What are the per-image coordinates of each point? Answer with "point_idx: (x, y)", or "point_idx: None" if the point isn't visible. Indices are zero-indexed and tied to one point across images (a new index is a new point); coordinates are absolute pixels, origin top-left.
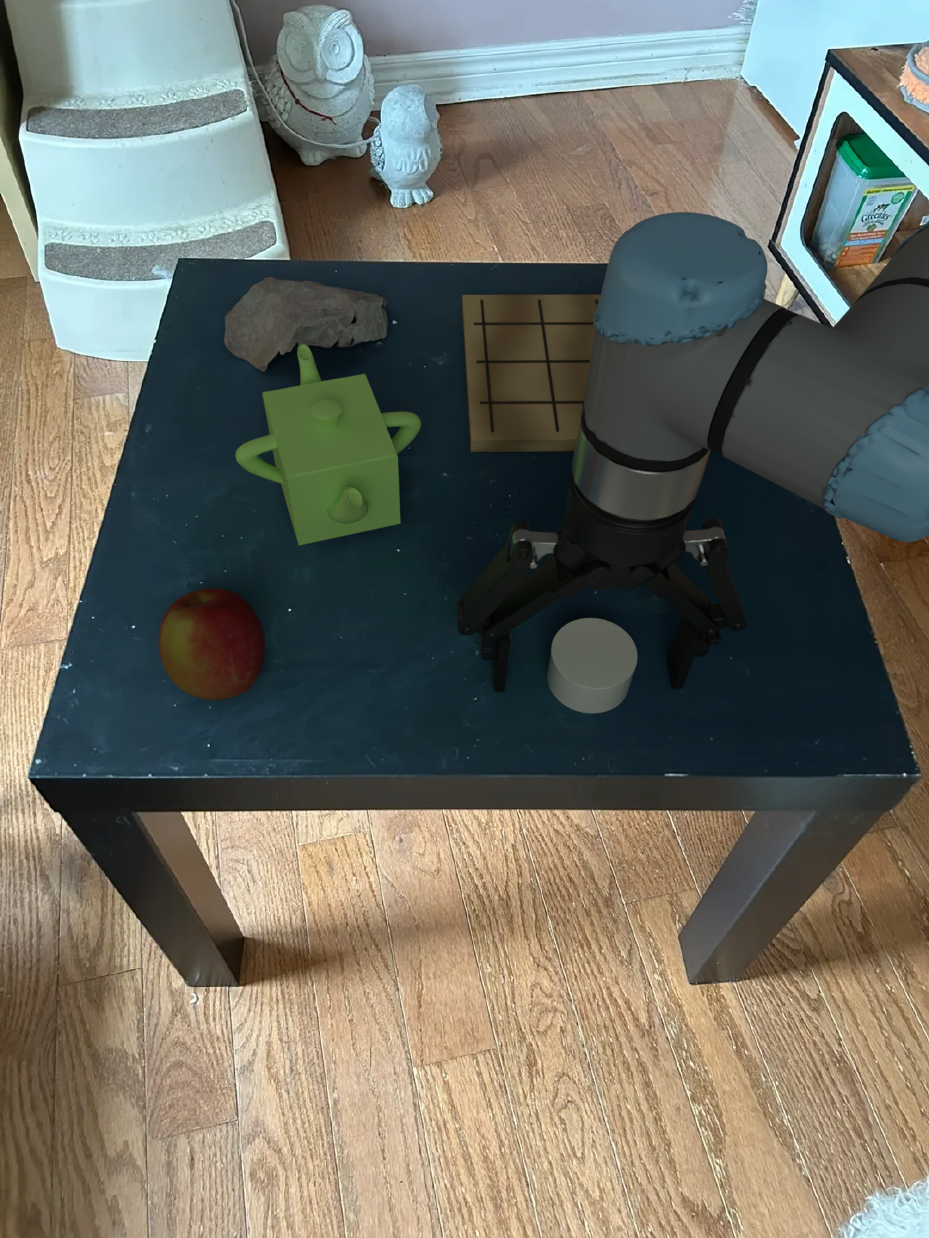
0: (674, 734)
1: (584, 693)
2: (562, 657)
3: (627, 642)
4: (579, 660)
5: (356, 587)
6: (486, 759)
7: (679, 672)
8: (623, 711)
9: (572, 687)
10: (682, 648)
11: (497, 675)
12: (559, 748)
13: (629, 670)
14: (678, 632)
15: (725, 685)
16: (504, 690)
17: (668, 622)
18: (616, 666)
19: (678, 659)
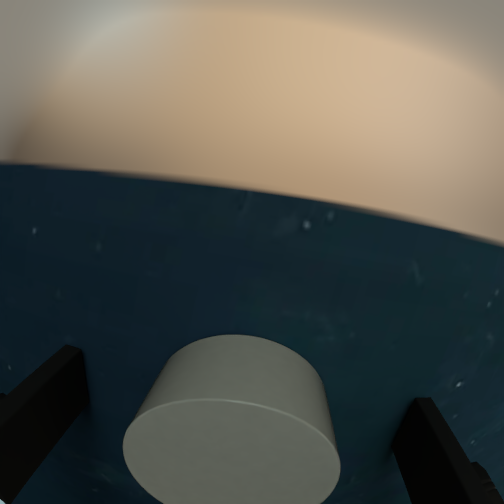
0: (88, 252)
1: (281, 390)
2: (314, 479)
3: (144, 475)
4: (273, 471)
5: None
6: (490, 260)
7: (48, 377)
8: (181, 327)
9: (310, 410)
10: (22, 428)
11: (451, 433)
12: (354, 261)
13: (144, 425)
14: (38, 456)
15: (12, 328)
16: (416, 400)
17: (89, 447)
18: (177, 442)
19: (45, 404)
